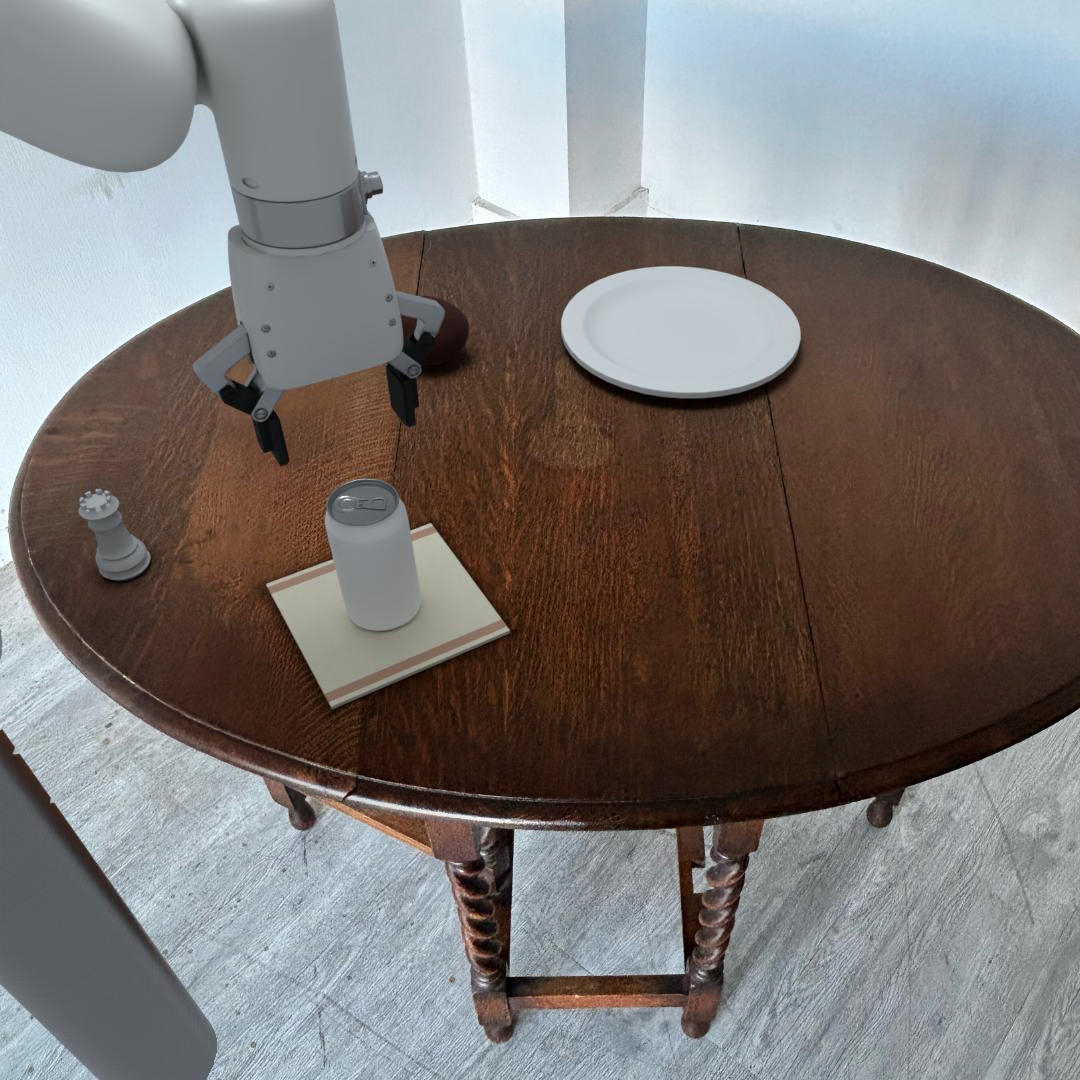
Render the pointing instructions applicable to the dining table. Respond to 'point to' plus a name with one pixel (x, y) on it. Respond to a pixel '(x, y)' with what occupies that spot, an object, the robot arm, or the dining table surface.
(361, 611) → the can
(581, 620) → the dining table surface
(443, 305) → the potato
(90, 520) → the rook chess piece
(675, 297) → the plate
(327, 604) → the napkin
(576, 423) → the dining table surface
